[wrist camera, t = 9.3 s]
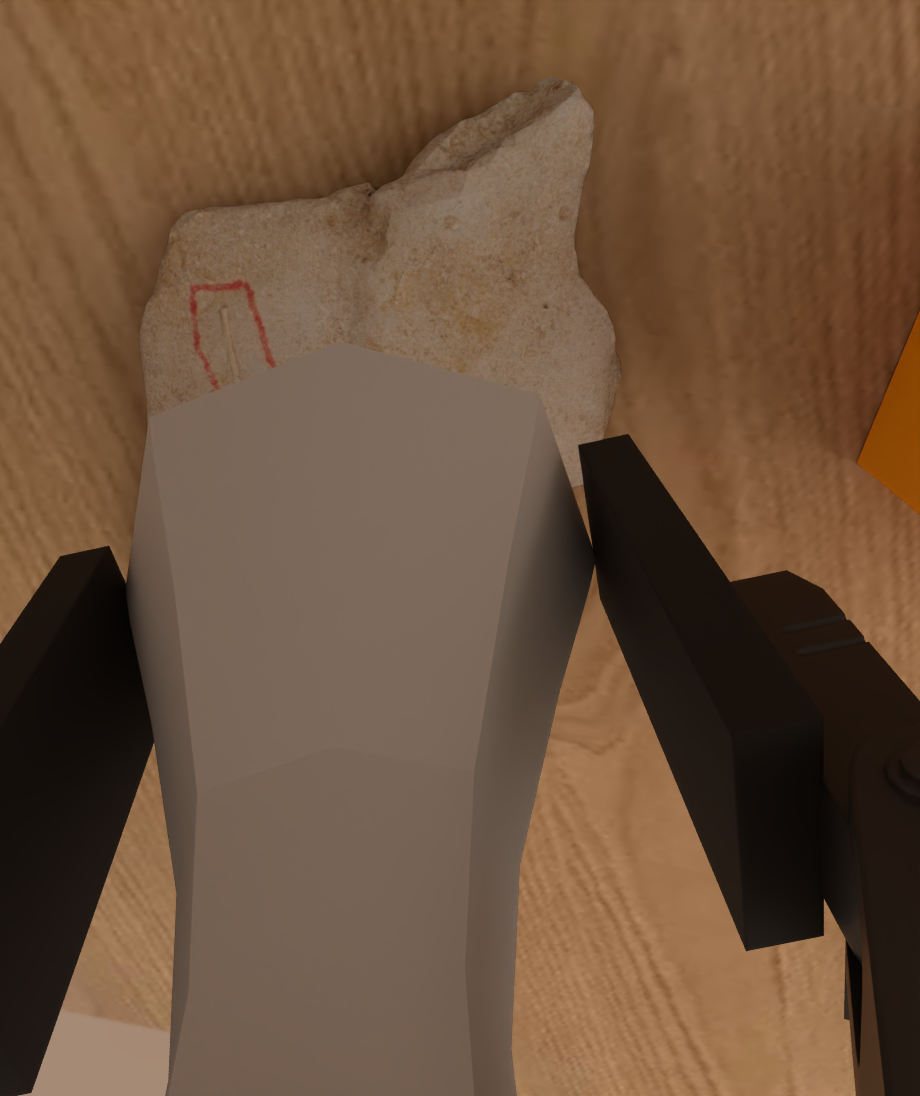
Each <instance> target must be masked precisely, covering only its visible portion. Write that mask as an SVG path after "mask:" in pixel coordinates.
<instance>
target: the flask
mask: <svg viewBox="0 0 920 1096" xmlns="http://www.w3.org/2000/svg"><path fill="white" fill-rule="evenodd" d="M595 561H596V560H595V555H594V551H593V548H592V545H591V542H590V539H589V536H588V533H587V531H586V528H585V525H584V522H583V519H582V516H581V513H580V510H579V507H578V504H577V501H576V498H575V496H574V493H573V490H572V487H571V484H570V481H569V478H568V475H567V472H566V469H565V466H564V463H563V461H562V458H561V455H560V452H559V449H558V446H557V443H556V440H555V437H554V434H553V431H552V428H551V426H550V423H549V420H548V417H547V414H546V411H545V408H544V405H543V402H542V399H541V396H540V394H536V393H533V392H529V391H525V390H521V389H518V388H514V387H510V386H506V385H502V384H499V383H495V382H491V381H487V380H484V379H480V378H476V377H472V376H469V375H465V374H461V373H457V372H454V371H450V370H446V369H442V368H438V367H435V366H431V365H427V364H423V363H420V362H416V361H412V360H408V359H405V358H401V357H397V356H393V355H389V354H386V353H382V352H378V351H374V350H371V349H367V348H363V347H359V346H356V345H352V344H348V343H344V342H341V341H340V342H337V343H335V344H332V345H330V346H327V347H325V348H322V349H320V350H317V351H315V352H312V353H310V354H307V355H305V356H302V357H300V358H297V359H295V360H292V361H290V362H287V363H284V364H282V365H279V366H277V367H274V368H272V369H269V370H267V371H264V372H262V373H259V374H257V375H254V376H252V377H249V378H247V379H244V380H242V381H239V382H237V383H234V384H232V385H229V386H227V387H224V388H222V389H219V390H217V391H214V392H212V393H209V394H207V395H204V396H202V397H199V398H196V399H194V400H191V401H189V402H186V403H184V404H181V405H179V406H176V407H174V408H171V409H169V410H166V411H164V412H161V413H159V414H156V415H154V416H151V417H149V423H148V430H147V437H146V444H145V452H144V459H143V466H142V473H141V481H140V488H139V495H138V502H137V509H136V517H135V524H134V531H133V538H132V546H131V553H130V560H129V567H128V575H127V582H126V598H127V605H128V612H129V619H130V625H131V629H132V634H133V639H134V644H135V648H136V653H137V658H138V662H139V667H140V672H141V676H142V681H143V686H144V691H145V695H146V700H147V705H148V709H149V714H150V719H151V723H152V730H153V737H154V744H155V751H156V757H157V764H158V771H159V778H160V784H161V791H162V798H163V805H164V812H165V818H166V825H167V832H168V839H169V846H170V852H171V859H172V866H173V873H174V880H175V886H176V893H177V896H176V919H175V942H174V964H173V987H172V1010H171V1032H170V1055H169V1078H168V1079H169V1080H168V1085H167V1090H166V1095H165V1096H517V1094H516V1086H515V1077H514V1068H513V1059H512V1050H511V1044H512V1023H513V1002H514V980H515V959H516V938H517V916H518V895H519V874H520V862H521V858H522V853H523V849H524V845H525V840H526V836H527V832H528V827H529V823H530V818H531V814H532V810H533V805H534V801H535V797H536V792H537V788H538V784H539V779H540V775H541V770H542V766H543V762H544V757H545V753H546V749H547V744H548V740H549V735H550V731H551V727H552V722H553V718H554V714H555V709H556V705H557V700H558V696H559V692H560V688H561V685H562V682H563V678H564V675H565V671H566V668H567V664H568V661H569V657H570V654H571V650H572V647H573V643H574V640H575V637H576V633H577V630H578V626H579V623H580V619H581V616H582V612H583V609H584V605H585V602H586V598H587V595H588V592H589V587H590V583H591V578H592V574H593V570H594V565H595Z"/></svg>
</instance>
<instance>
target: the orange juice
mask: <svg viewBox="0 0 920 1096" xmlns="http://www.w3.org/2000/svg"><path fill="white" fill-rule="evenodd" d="M857 464H858V465H860V466H861V467H862V468H863V469H865V470H866V471H867V472H868V473H869V474H871V475H872V476H873V477H874V478H876V479H877V480H878V481H879V482H880V483H882V484H883V485H884V486H885V487H887V488H888V489H889V490H890V491H891V492H893V493H894V494H895V495H896V496H898V497H899V498H900V499H901V500H903V501H904V502H905V503H906V504H907V505H909V506H910V507H911V508H912V509H914V510H915V511H916V512H917V513H918V514H920V311H919V314H918V316H917V319H916V321H915V323H914V326H913V328H912V331H911V333H910V335H909V338H908V340H907V343H906V345H905V347H904V350H903V352H902V355H901V357H900V360H899V362H898V364H897V367H896V369H895V372H894V374H893V376H892V379H891V381H890V384H889V386H888V389H887V391H886V393H885V396H884V398H883V401H882V403H881V405H880V408H879V410H878V413H877V415H876V418H875V420H874V422H873V425H872V427H871V430H870V432H869V434H868V437H867V439H866V442H865V444H864V447H863V449H862V451H861V454H860V456H859V459H858V461H857Z"/></svg>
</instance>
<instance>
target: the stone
mask: <svg viewBox="0 0 920 1096" xmlns="http://www.w3.org/2000/svg"><path fill="white" fill-rule="evenodd" d="M593 132H594V113H593V110H592V108H591V105H590V104H589V103H587V102H586V100H585V99H584V97H583V95H582V93H581V91H580V89H579V88H578V87H577V86H576V85H575V84H574V83H573V82H570V81H564V80H561V79H558V78H556V77H553V76H551V77H549V78H546V79H544V80H541V81H539V82H538V83H537V84H536V85H535V87H534V88H533V89H532V90H531V91H530V92H528V93H526V92H514V93H513V94H511V95H509V96H507V97H506V98H504V99H503V100H502V101H500V102H499V103H497V104H496V105H494V106H492V107H491V108H489V109H487V110H486V111H484V112H482V113H481V114H479V115H477V116H475V117H472V118H469V119H465V120H462V121H460V122H459V123H457V124H455V125H454V126H452V127H451V128H449V129H447V130H445V131H443V132H441V133H439V134H438V135H437V136H436V137H435V138H434V139H433V140H431V141H430V142H429V143H428V144H427V145H426V147H425V148H424V149H423V150H422V151H421V152H420V153H419V154H418V155H417V156H416V157H415V158H414V159H413V161H412V162H411V163H410V165H409V166H408V168H407V169H406V171H405V173H404V175H403V176H402V177H400V178H398V179H397V180H395V181H392V182H389V183H386V184H384V185H383V186H381V187H380V188H379V189H377V188H376V187H375V186H374V185H372V184H370V183H368V182H367V183H363V184H360V185H356V186H351V187H347V188H342V189H339V190H337V191H335V192H333V193H331V194H330V195H328V196H326V197H323V198H318V199H307V198H295V199H291V200H287V201H283V202H273V203H258V204H249V205H241V206H233V207H206V208H201V209H196V210H193V211H190V212H188V213H185V214H183V215H182V216H181V217H180V218H179V220H178V221H177V222H176V224H175V225H174V226H173V227H172V229H171V230H170V234H169V239H168V243H167V248H166V253H165V255H164V256H163V258H162V260H161V264H160V270H159V275H158V279H157V283H156V287H155V291H154V293H153V294H152V296H151V297H150V299H149V301H148V302H147V305H146V309H145V312H144V315H143V319H142V325H141V331H140V337H139V342H140V350H141V358H142V366H143V374H144V383H145V392H146V397H147V403H148V407H147V422H148V423H149V417H151V416H154V415H156V414H159V413H161V412H164V411H166V410H169V409H171V408H174V407H176V406H179V405H181V404H184V403H186V402H189V401H191V400H194V399H196V398H199V397H202V396H204V395H207V394H209V393H212V392H214V391H217V390H219V389H222V388H224V387H227V386H229V385H232V384H234V383H237V382H239V381H242V380H244V379H247V378H249V377H252V376H254V375H257V374H259V373H262V372H264V371H267V370H269V369H272V368H274V367H277V366H279V365H282V364H284V363H287V362H290V361H292V360H295V359H297V358H300V357H302V356H305V355H307V354H310V353H312V352H315V351H317V350H320V349H322V348H325V347H327V346H330V345H332V344H335V343H337V342H340V341H341V342H344V343H348V344H352V345H356V346H359V347H363V348H367V349H371V350H374V351H378V352H382V353H386V354H389V355H393V356H397V357H401V358H405V359H408V360H412V361H416V362H420V363H423V364H427V365H431V366H435V367H438V368H442V369H446V370H450V371H454V372H457V373H461V374H465V375H469V376H472V377H476V378H480V379H484V380H487V381H491V382H495V383H499V384H502V385H506V386H510V387H514V388H518V389H521V390H525V391H529V392H533V393H536V394H540V396H541V399H542V402H543V405H544V408H545V411H546V414H547V417H548V420H549V423H550V426H551V428H552V431H553V434H554V437H555V440H556V443H557V446H558V449H559V452H560V455H561V458H562V461H563V463H564V466H565V469H566V472H567V475H568V478H569V481H570V484H571V487H572V488H574V487H578V486H580V485H582V484H583V477H582V470H581V463H580V456H579V450H578V445H579V444H584V443H589V442H593V441H598V440H603V439H604V433H605V430H606V427H607V424H608V421H609V418H610V415H611V412H612V409H613V407H614V403H615V396H616V391H617V388H618V385H619V382H620V379H621V363H620V360H619V358H618V356H617V355H616V351H615V333H614V326H613V324H612V322H611V320H610V318H609V315H608V313H607V310H606V309H605V307H604V306H603V305H602V304H601V303H600V302H599V301H598V300H597V299H596V297H595V296H594V294H593V293H592V291H591V290H590V288H589V287H588V285H587V284H586V283H585V281H584V280H583V279H582V277H581V276H580V273H579V271H578V262H577V254H576V251H575V248H574V239H575V228H576V223H577V218H578V212H579V205H580V199H581V194H582V189H583V184H584V179H585V176H586V173H587V171H588V168H589V165H590V158H591V150H592V141H593Z"/></svg>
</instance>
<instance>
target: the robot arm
mask: <svg viewBox="0 0 920 1096" xmlns="http://www.w3.org/2000/svg"><path fill="white" fill-rule="evenodd" d="M578 450H579V456H580V463H581V470H582V477H583V484H584V491H585V498H586V505H587V512H588V519H589V526H590V532H591V539H592V546H593V551H594V555H595V560H596V561H595V567H596V574H597V581H598V588H599V595H600V599H601V602H602V604H603V607H604V609H605V612H606V614H607V616H608V619H609V621H610V624H611V626H612V628H613V631H614V633H615V636H616V638H617V641H618V643H619V645H620V648H621V650H622V653H623V655H624V657H625V660H626V662H627V665H628V667H629V670H630V672H631V674H632V677H633V679H634V682H635V684H636V686H637V689H638V691H639V694H640V696H641V699H642V701H643V703H644V706H645V708H646V711H647V713H648V715H649V718H650V720H651V723H652V725H653V727H654V730H655V732H656V735H657V737H658V740H659V742H660V744H661V747H662V749H663V752H664V754H665V756H666V759H667V761H668V764H669V766H670V769H671V771H672V773H673V776H674V778H675V781H676V783H677V785H678V788H679V790H680V793H681V795H682V798H683V800H684V802H685V805H686V807H687V810H688V812H689V814H690V817H691V819H692V822H693V824H694V827H695V829H696V831H697V834H698V836H699V839H700V841H701V843H702V846H703V848H704V851H705V853H706V855H707V858H708V860H709V863H710V865H711V868H712V870H713V872H714V875H715V877H716V880H717V882H718V884H719V887H720V889H721V892H722V894H723V897H724V899H725V901H726V904H727V906H728V909H729V911H730V913H731V916H732V918H733V921H734V923H735V926H736V928H737V930H738V933H739V935H740V938H741V940H742V942H743V945H744V947H745V950H746V951H749V950H754V949H759V948H764V947H769V946H774V945H780V944H785V943H790V942H795V941H800V940H805V939H810V938H815V937H820V936H824V899H825V901H826V903H827V905H828V907H829V909H830V910H831V912H832V914H833V916H834V918H835V920H836V922H837V924H838V925H839V927H840V929H841V931H842V933H843V935H844V937H845V938H846V947H845V1001H844V1019H847V1020H850V1031H851V1043H852V1055H853V1066H854V1078H855V1090H856V1096H920V701H919V700H918V699H917V697H916V696H915V695H914V694H913V693H912V692H911V690H910V689H909V688H908V687H907V686H906V685H905V683H904V682H903V681H902V680H901V679H900V678H899V676H898V675H897V674H896V673H895V672H894V671H893V669H892V668H891V667H890V666H889V665H888V664H887V663H886V661H885V660H884V659H883V658H882V657H881V656H880V654H879V653H878V652H877V651H876V650H875V649H874V647H873V646H872V645H871V644H870V643H869V642H865V640H864V636H863V635H862V634H861V632H860V631H859V630H858V629H857V628H856V627H855V625H854V624H853V623H852V622H851V621H850V620H846V617H845V614H844V613H843V611H842V610H841V609H840V608H839V607H838V606H837V605H836V603H835V602H834V601H833V600H832V599H831V598H830V596H829V595H828V594H827V593H826V592H825V591H824V589H822V588H820V587H818V586H817V585H815V584H813V583H811V582H809V581H807V580H805V579H803V578H801V577H799V576H797V575H795V574H793V573H791V572H789V571H787V570H786V571H781V572H776V573H771V574H767V575H762V576H757V577H752V578H748V579H743V580H738V581H733V582H730V581H729V580H728V578H727V577H726V576H725V574H724V573H723V571H722V570H721V568H720V567H719V565H718V564H717V562H716V561H715V560H714V558H713V557H712V555H711V554H710V552H709V551H708V549H707V548H706V546H705V545H704V544H703V542H702V541H701V539H700V538H699V536H698V535H697V533H696V532H695V530H694V529H693V528H692V526H691V525H690V523H689V522H688V520H687V519H686V517H685V516H684V514H683V513H682V512H681V510H680V509H679V507H678V506H677V504H676V503H675V501H674V500H673V498H672V497H671V496H670V494H669V493H668V491H667V490H666V488H665V487H664V485H663V484H662V482H661V481H660V480H659V478H658V477H657V475H656V474H655V472H654V471H653V469H652V468H651V466H650V465H649V464H648V462H647V461H646V459H645V458H644V456H643V455H642V453H641V452H640V450H639V449H638V448H637V446H636V445H635V443H634V442H633V440H632V439H631V437H630V436H629V434H626V435H621V436H617V437H612V438H607V439H603V440H598V441H593V442H589V443H584V444H579V445H578ZM153 744H154V737H153V730H152V723H151V719H150V714H149V709H148V705H147V700H146V695H145V691H144V686H143V681H142V676H141V672H140V667H139V662H138V658H137V653H136V648H135V644H134V639H133V634H132V629H131V625H130V619H129V612H128V605H127V598H126V583H125V580H124V578H123V576H122V574H121V571H120V569H119V567H118V565H117V563H116V560H115V558H114V556H113V554H112V551H111V549H110V547H109V546H106V547H101V548H96V549H92V550H87V551H83V552H78V553H73V554H69V555H64V556H60V557H59V559H58V560H57V562H56V563H55V565H54V566H53V568H52V569H51V571H50V572H49V573H48V575H47V576H46V578H45V579H44V581H43V582H42V584H41V585H40V587H39V588H38V590H37V591H36V592H35V594H34V595H33V597H32V598H31V600H30V601H29V603H28V604H27V606H26V607H25V609H24V610H23V611H22V613H21V614H20V616H19V617H18V619H17V620H16V622H15V623H14V625H13V626H12V628H11V629H10V630H9V632H8V633H7V635H6V636H5V638H4V639H3V641H2V642H1V644H0V1096H18V1095H23V1094H28V1093H31V1092H32V1090H33V1087H34V1084H35V1081H36V1078H37V1075H38V1072H39V1070H40V1067H41V1064H42V1061H43V1058H44V1055H45V1052H46V1049H47V1047H48V1044H49V1041H50V1038H51V1035H52V1032H53V1030H54V1027H55V1024H56V1021H57V1018H58V1015H59V1012H60V1009H61V1007H62V1004H63V1001H64V998H65V995H66V992H67V989H68V987H69V984H70V981H71V978H72V975H73V972H74V969H75V967H76V964H77V961H78V958H79V955H80V952H81V949H82V947H83V944H84V941H85V938H86V935H87V932H88V929H89V927H90V924H91V921H92V918H93V915H94V912H95V909H96V907H97V904H98V901H99V898H100V895H101V892H102V889H103V887H104V884H105V881H106V878H107V875H108V872H109V869H110V866H111V864H112V861H113V858H114V855H115V852H116V849H117V846H118V844H119V841H120V838H121V835H122V832H123V829H124V826H125V824H126V821H127V818H128V815H129V812H130V809H131V806H132V804H133V801H134V798H135V795H136V792H137V789H138V786H139V784H140V781H141V778H142V775H143V772H144V769H145V766H146V764H147V761H148V758H149V755H150V752H151V749H152V746H153Z"/></svg>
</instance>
